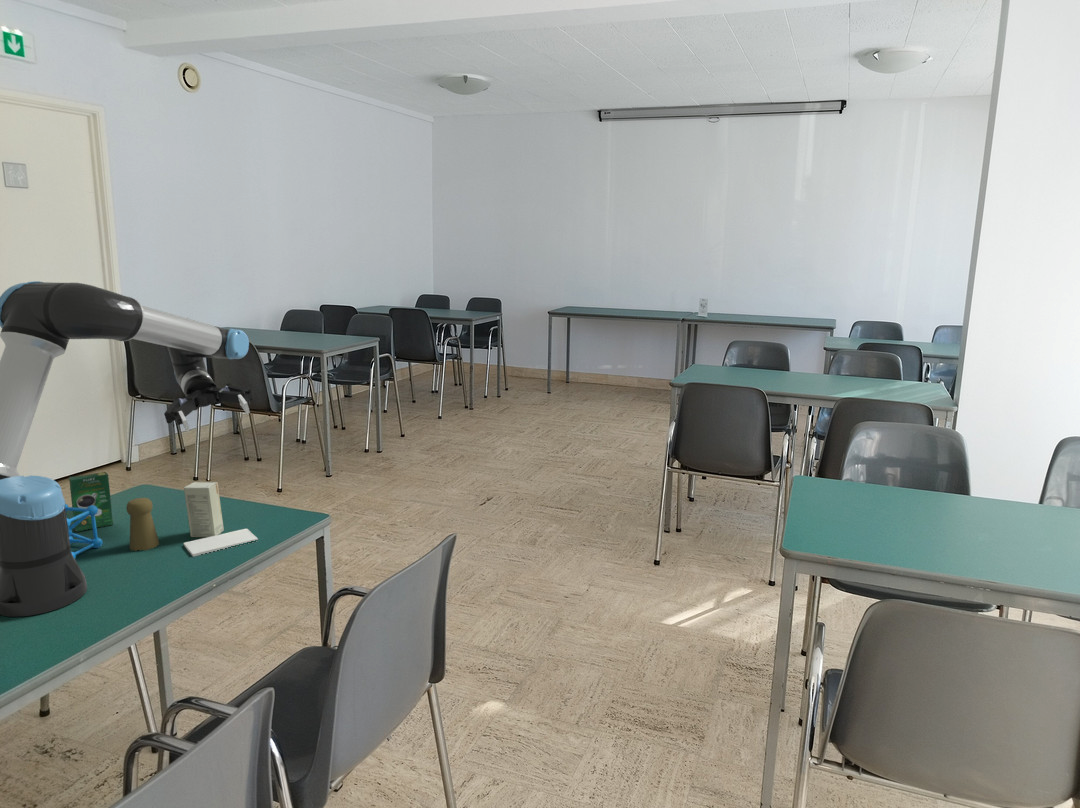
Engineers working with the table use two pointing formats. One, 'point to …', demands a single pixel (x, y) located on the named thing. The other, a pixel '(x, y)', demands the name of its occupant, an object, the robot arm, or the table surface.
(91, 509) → the molecular structure
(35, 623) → the table surface
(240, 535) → the mat
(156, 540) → the cork
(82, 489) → the coffee box
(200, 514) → the skincare box
